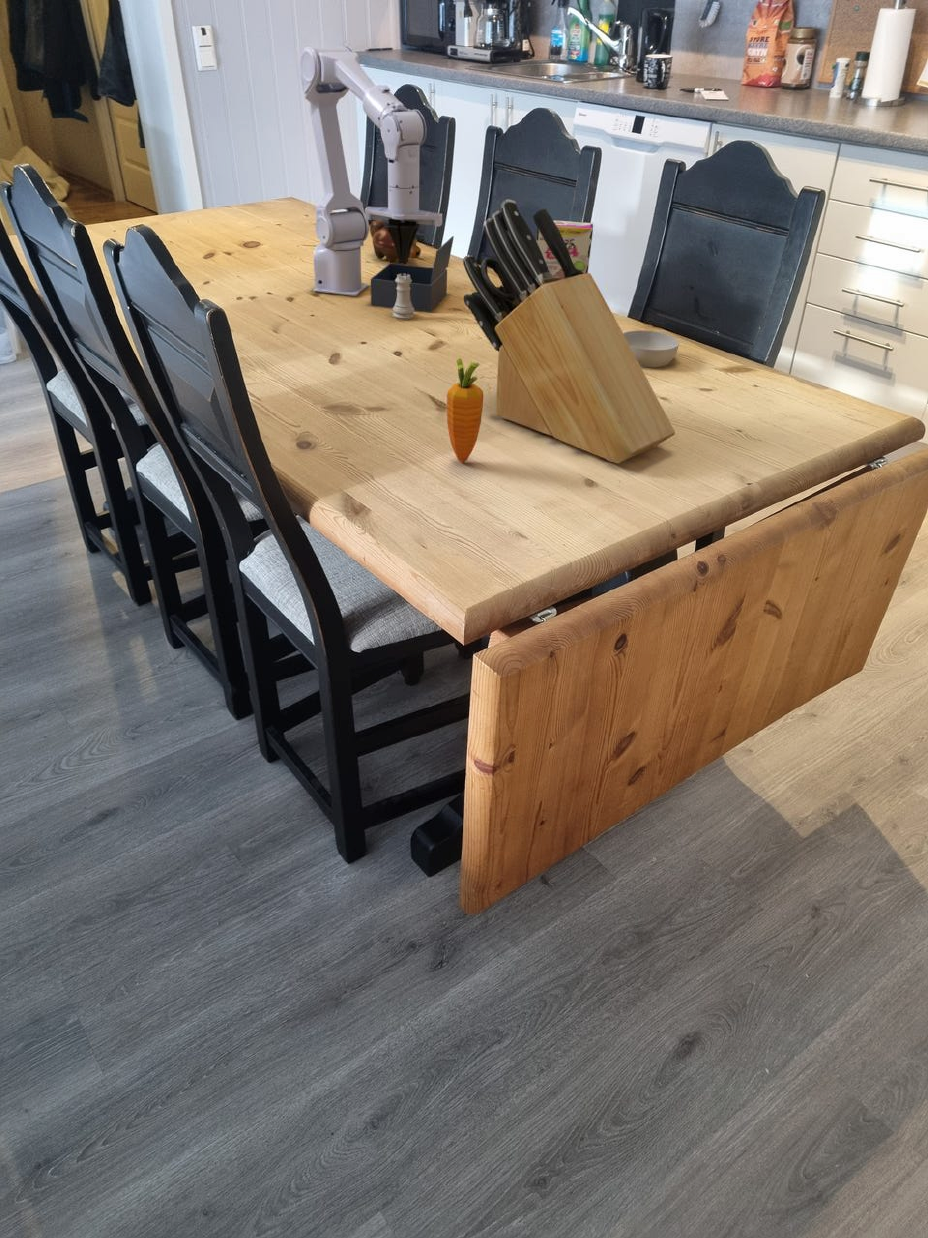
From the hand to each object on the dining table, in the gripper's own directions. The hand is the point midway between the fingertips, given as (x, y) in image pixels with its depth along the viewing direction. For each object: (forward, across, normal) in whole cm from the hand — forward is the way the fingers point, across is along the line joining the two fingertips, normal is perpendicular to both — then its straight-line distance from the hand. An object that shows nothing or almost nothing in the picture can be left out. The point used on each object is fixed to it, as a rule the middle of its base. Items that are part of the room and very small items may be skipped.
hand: (403, 262), depth 178 cm
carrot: (+11, +27, -60) cm, 67 cm away
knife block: (+11, +38, -42) cm, 58 cm away
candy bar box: (+11, +28, +18) cm, 35 cm away
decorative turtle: (+6, -14, +40) cm, 42 cm away
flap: (+1, +5, +11) cm, 12 cm away
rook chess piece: (+11, 0, 0) cm, 11 cm away
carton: (+10, -2, +11) cm, 15 cm away
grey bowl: (+11, +45, -7) cm, 47 cm away
